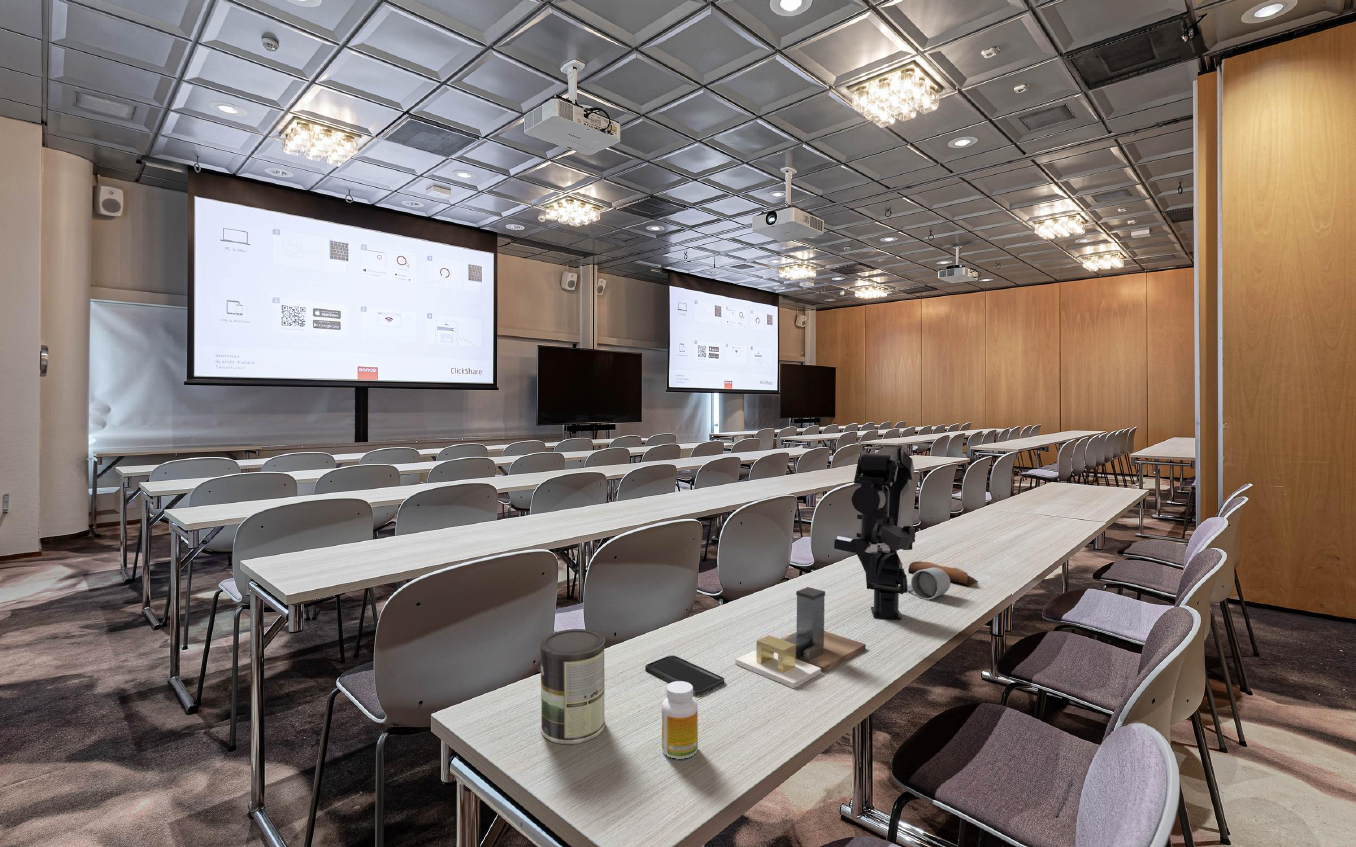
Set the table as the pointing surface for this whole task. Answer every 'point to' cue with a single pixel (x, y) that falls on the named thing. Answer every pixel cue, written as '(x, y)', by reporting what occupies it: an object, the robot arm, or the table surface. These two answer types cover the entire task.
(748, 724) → the table surface
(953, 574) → the orange brown tapered rod
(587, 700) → the coffee can
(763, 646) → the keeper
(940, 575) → the ceramic mug
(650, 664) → the phone
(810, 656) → the guide rails
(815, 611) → the dark square pillar
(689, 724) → the supplement bottle
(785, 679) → the jamb plate
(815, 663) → the door leaf
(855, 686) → the table surface
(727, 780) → the table surface
